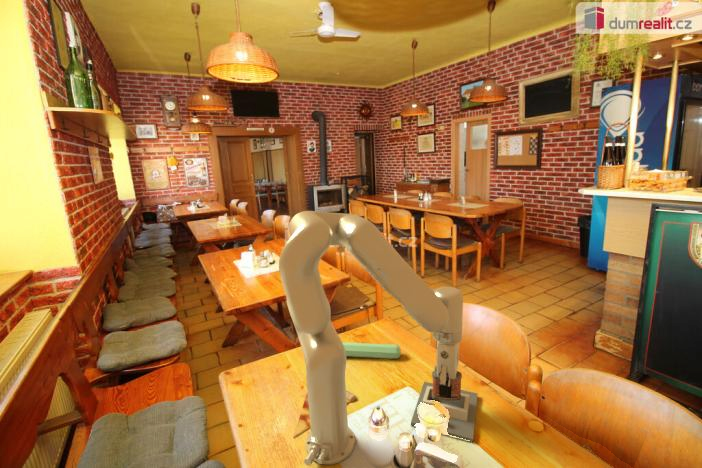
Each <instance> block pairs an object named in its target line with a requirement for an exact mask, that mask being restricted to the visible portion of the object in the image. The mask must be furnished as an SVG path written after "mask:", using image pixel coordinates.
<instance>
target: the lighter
mask: <svg viewBox="0 0 702 468" xmlns="http://www.w3.org/2000/svg"><path fill="white" fill-rule="evenodd" d="M447 374H448V373H447ZM431 376H432V384H433V392H432V398H433V399H435V400H441V401H457V400H460V399H461V390H462V387H461V385H462V376H463V375H462V372H460V371H458V370H457V374H456V378H455V379H451V383H450V385H452V387H451V398H446V397H442V396H439V383H440V376H438V375H437V364H436V365H434V370H433V371H432V372H431ZM446 380H447V381H448V378H446Z"/></svg>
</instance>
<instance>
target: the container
mask: <svg viewBox="0 0 702 468" xmlns="http://www.w3.org/2000/svg"><path fill="white" fill-rule="evenodd" d="M342 343H343V346H344V348H345V352H346V357H349V358H350V357H351V358H353V357H354V358H370V359H372V358H373V359H390V360H391V359H393V360H394V359H396V360H397V359H400V357H401V353H402V352H401V347H400V346H399V345H398V344H392V343H391V344H387V343H370V342H369V343H366V342H364V343H362V342H349V341H348V342H346V341H344V342H343V341H342Z"/></svg>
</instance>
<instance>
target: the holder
mask: <svg viewBox="0 0 702 468" xmlns="http://www.w3.org/2000/svg"><path fill="white" fill-rule="evenodd" d="M432 392H433V382H431V383H430V382H428V381H424V382H423V383H422V387H421V390H420V393H419V396H418V400H417V401H416V402H417V403H416V406H415V408H414V412H413V414H412V418H411V421H410V427H413V426H414V425H415V424H416V423H420V420H419V418H418V414H417V407H418V405H419V404H420V402H422V403H423V402H424V403H426V404H429V405H435V404H434V403H433V402H434V401H430V400H435V399H433V398H432ZM435 401H438V402H440V403H439V404H441V405H443V406H444V407H445V408H446V409H448V411H449V415H450V418H449V422H448V428H447V432H448V434H449V435H452V436H456V437H459V438H463V439H466V440H470V441H473V442H474V436H475V425H476V417H475V416H477V405H478V392H473V391H469V390H463V389H461V399H460V400H457V401H441V400H435ZM439 416H440V417H442V418H443V417H444V418H445V417H446V416H445V415H444V414H440V415H439Z"/></svg>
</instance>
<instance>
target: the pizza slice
mask: <svg viewBox="0 0 702 468" xmlns="http://www.w3.org/2000/svg"><path fill="white" fill-rule="evenodd" d="M356 399H357V396H356V395H355V394H354V393H352V392H350V391H349V390H347V389H346V401H347V405H348V404H350V403H351V402H353V401H354V400H356ZM309 429H311V427H310V415H309V403H308V394H307V393H306V395H305V399H304V401H303V405H302V407H301V410H300V415H299V418H298V421H297V424H296V428H295V431H294V434H293V439H295V438H297V437H298V436H300V435H301V434H303V433H304V432H306V431H308V430H309Z"/></svg>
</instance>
